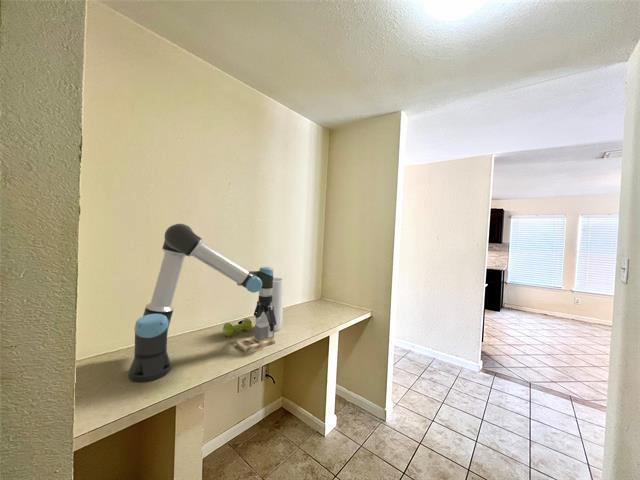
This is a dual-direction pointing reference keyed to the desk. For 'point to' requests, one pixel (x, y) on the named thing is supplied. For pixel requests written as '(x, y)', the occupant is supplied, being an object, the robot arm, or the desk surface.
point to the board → (253, 344)
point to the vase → (276, 303)
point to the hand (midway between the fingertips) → (263, 332)
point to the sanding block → (262, 332)
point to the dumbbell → (237, 327)
